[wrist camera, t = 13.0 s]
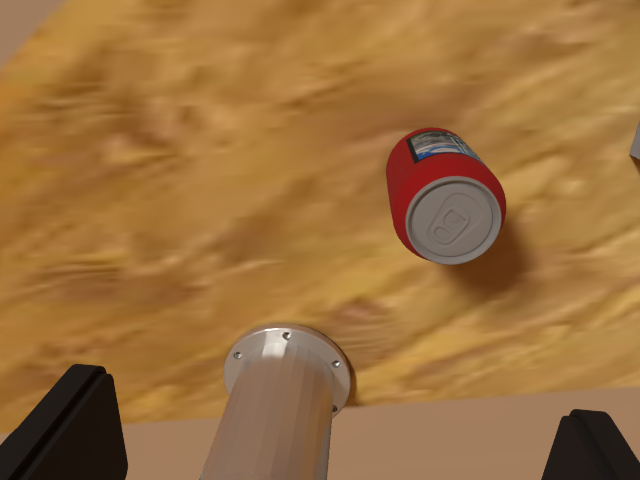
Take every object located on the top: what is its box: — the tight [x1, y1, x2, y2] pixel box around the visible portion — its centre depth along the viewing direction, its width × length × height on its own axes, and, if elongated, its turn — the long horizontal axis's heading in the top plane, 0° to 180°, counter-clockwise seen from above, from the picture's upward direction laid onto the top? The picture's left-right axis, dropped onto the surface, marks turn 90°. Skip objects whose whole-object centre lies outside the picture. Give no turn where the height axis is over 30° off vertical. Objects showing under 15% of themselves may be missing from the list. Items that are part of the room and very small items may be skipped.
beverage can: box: [386, 128, 506, 265], centre depth 33 cm, size 7×7×12 cm
